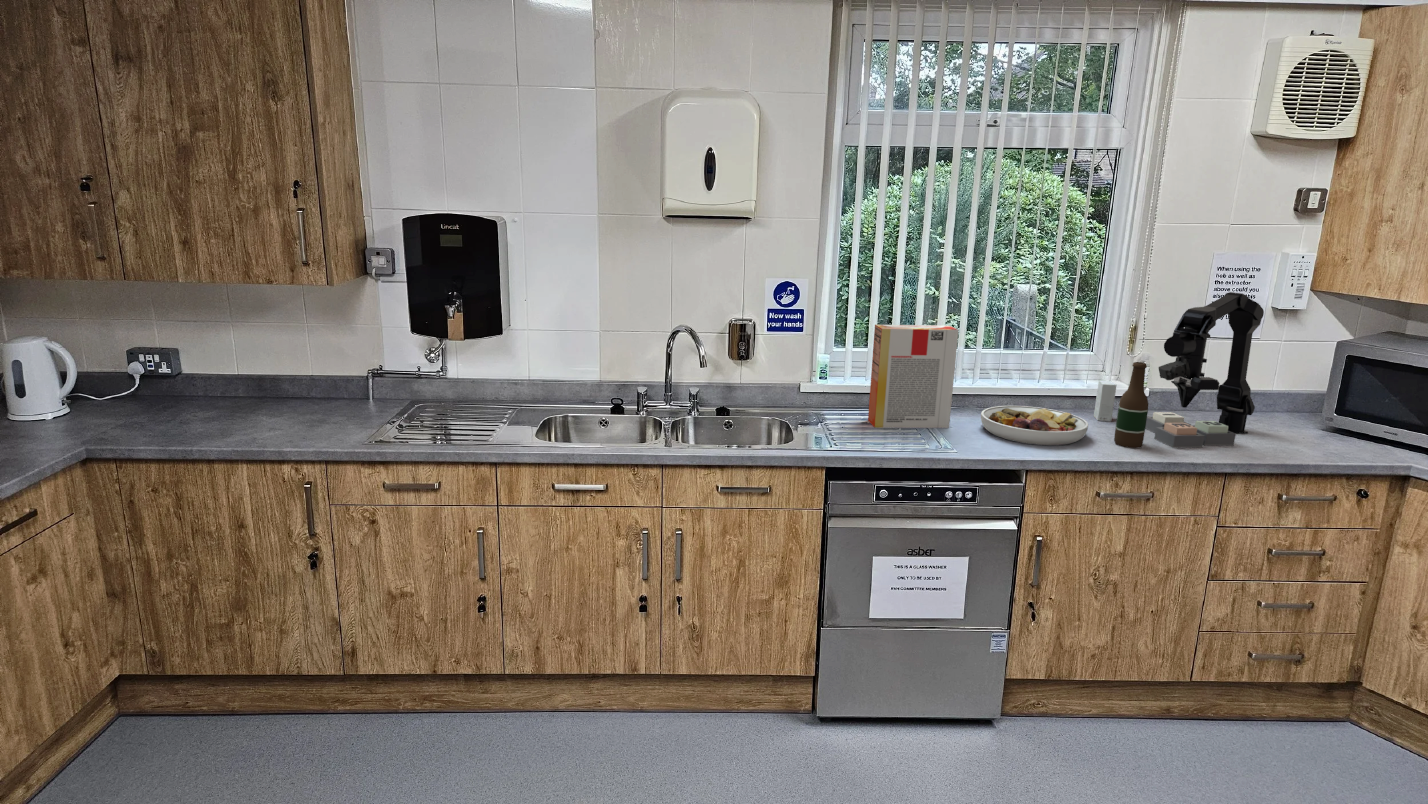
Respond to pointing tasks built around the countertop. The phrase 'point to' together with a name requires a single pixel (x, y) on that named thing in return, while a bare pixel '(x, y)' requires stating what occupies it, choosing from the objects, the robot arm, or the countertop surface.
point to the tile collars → (1188, 437)
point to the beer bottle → (1132, 411)
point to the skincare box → (1105, 400)
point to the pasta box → (912, 376)
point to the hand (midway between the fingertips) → (1183, 407)
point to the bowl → (1034, 425)
